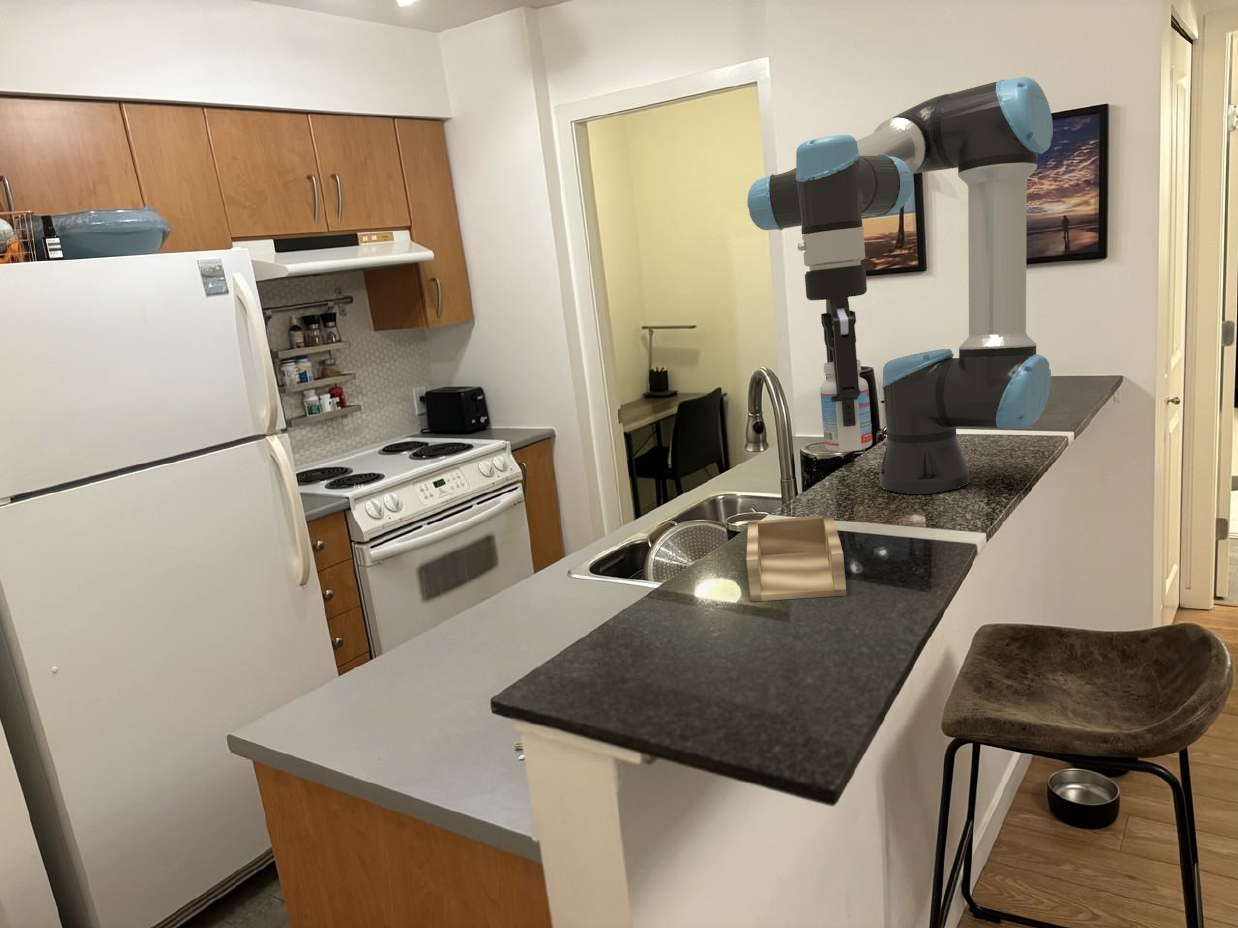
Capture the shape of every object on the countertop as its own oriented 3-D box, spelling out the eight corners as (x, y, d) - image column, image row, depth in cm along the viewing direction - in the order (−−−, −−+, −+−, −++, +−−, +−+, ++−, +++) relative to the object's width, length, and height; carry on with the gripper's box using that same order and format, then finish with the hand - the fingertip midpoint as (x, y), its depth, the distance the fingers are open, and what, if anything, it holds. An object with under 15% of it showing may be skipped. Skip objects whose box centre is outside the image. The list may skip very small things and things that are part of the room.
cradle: (751, 558, 135) (748, 521, 134) (835, 552, 133) (832, 514, 132) (750, 601, 118) (746, 559, 117) (846, 595, 116) (843, 552, 115)
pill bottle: (874, 450, 117) (868, 362, 115) (825, 454, 118) (818, 367, 116) (870, 440, 123) (864, 357, 121) (823, 444, 124) (817, 362, 122)
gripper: (799, 269, 126) (812, 435, 130) (809, 270, 108) (824, 463, 112) (855, 262, 125) (866, 430, 129) (875, 262, 106) (888, 457, 111)
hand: (847, 445), depth 121 cm, fingers closed on pill bottle, 6 cm apart
